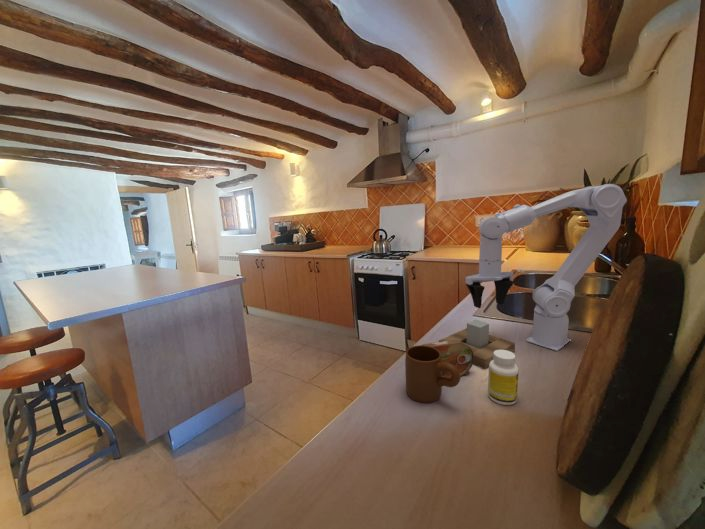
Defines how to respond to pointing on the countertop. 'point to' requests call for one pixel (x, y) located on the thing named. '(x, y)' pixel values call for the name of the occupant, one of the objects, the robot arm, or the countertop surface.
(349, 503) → the countertop surface
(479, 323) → the peg
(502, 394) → the supplement bottle
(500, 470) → the countertop surface
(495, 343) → the collar
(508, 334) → the countertop surface
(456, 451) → the countertop surface
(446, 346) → the tin
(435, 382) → the mug
